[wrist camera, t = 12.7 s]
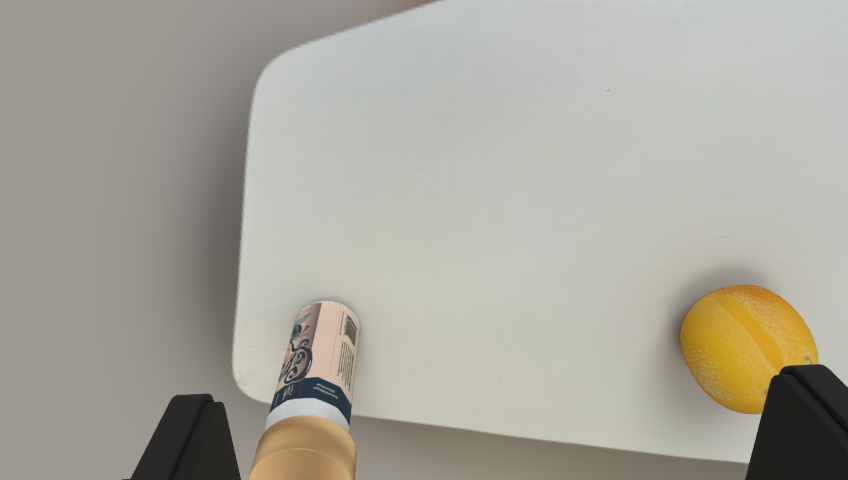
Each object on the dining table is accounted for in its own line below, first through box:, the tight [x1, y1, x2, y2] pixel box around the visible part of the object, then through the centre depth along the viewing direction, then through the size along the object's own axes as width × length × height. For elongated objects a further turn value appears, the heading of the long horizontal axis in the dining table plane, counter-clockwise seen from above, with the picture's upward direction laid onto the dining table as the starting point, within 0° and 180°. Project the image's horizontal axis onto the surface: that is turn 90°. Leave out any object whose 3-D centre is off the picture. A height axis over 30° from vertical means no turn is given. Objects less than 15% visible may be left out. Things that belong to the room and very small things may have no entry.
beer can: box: [265, 301, 360, 434], centre depth 40 cm, size 5×5×12 cm
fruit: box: [680, 285, 818, 414], centre depth 42 cm, size 9×8×8 cm
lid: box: [249, 415, 357, 480], centre depth 34 cm, size 6×6×2 cm
